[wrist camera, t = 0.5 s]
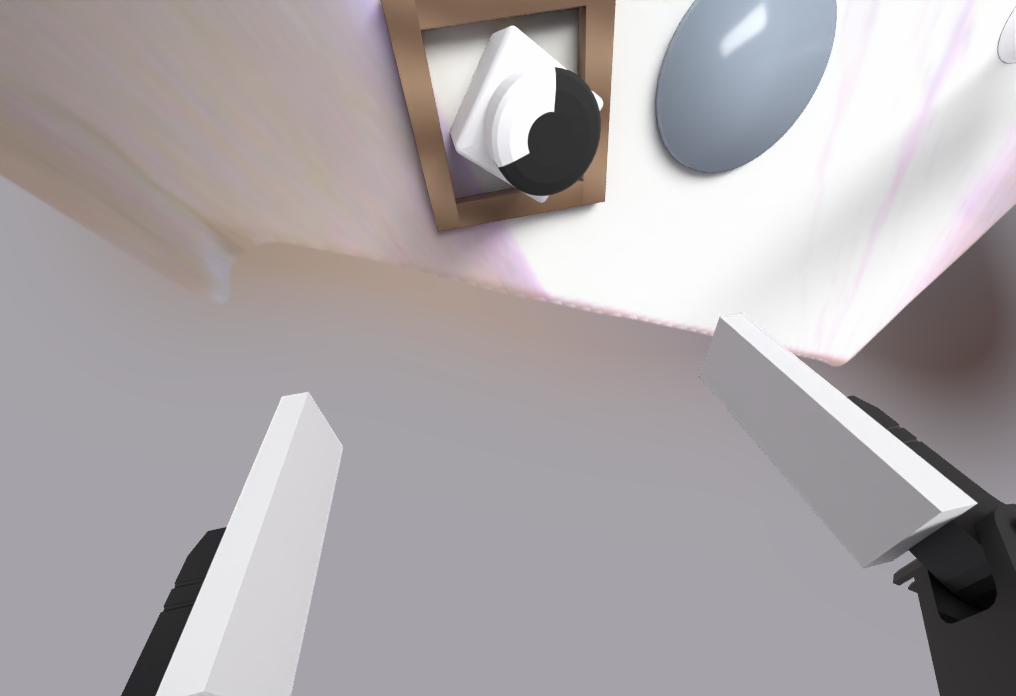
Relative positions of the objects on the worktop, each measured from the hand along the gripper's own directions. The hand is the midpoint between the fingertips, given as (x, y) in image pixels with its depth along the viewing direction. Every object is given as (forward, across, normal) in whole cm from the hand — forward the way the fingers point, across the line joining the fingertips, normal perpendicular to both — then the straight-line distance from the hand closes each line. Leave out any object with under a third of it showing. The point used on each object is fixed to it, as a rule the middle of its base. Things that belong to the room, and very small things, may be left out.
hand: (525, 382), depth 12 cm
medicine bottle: (+25, +4, +5) cm, 25 cm away
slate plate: (+24, +23, +5) cm, 34 cm away
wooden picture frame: (+24, +4, +5) cm, 25 cm away
